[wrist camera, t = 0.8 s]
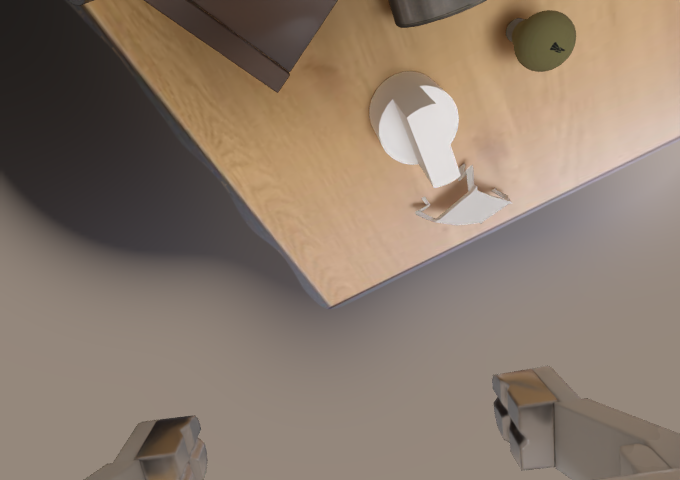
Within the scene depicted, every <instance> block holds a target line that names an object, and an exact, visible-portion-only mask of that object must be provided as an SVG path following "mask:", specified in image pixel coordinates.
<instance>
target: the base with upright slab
mask: <svg viewBox="0 0 680 480" xmlns="http://www.w3.org/2000/svg"><path fill="white" fill-rule="evenodd" d="M369 118H370V121H371V125H372V127H373V129H374V131H375V133H376V135H377V137H378V139H379V141H380V143H381V145H382V146H383V148H384V150H385V151H386V153H387V154H388V155H389V156H391V157H392V158H393V159H394V160H397V161H399V162H401V163H404V164H411V165H414V164H419V165H420V167H421V168H422V170H423V171H424V173H425V175H426V176H427V178H428V179H429V181H430V183H431V184H432V186H433V187H434V188H438V187H441V186H444V185H447V184H449V183H451V182H452V181H454V180H456V179H457V178H459V177H460V176H461V175H460V172H459V169H458V166H457V163H456V160H455V157H454V154H453V151H452V148H451V145H450V144H451V143H452V141H453V140H454V138H455V135H456V132H457V129H458V122H459V116H458V110H457V107H456V105H455V103H454V101H453V99H452V98H451V97H450V96H449V95H448V94H447V93H446V92H445V91H444V90H443V89H442V88H441V87H440V86H439V85H438V84H436V83H435V82H434V81H433V80H432V79H431V78H430V77H428V76H426V75H424V74H422V73H419V72H414V71H407V72H401V73H398V74H395V75H392V76H391V77H389V78H388V79H386V80H385V81H384V82H383V83H382V84H381V85H380V86H379V87H378V88H377V90H376V91H375V93H374V95H373V97H372V100H371V104H370V108H369Z"/></svg>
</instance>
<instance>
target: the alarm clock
mask: <svg viewBox="0 0 680 480" xmlns="http://www.w3.org/2000/svg"><path fill="white" fill-rule="evenodd" d="M485 1H486V0H389V3H390V7H391V10H392V14H393V17H394V20H395V24H396V25H397V26H398V27H401V28H407V27H415V26H420V25H424V24H427V23H431V22H434V21H437V20H441V19H444V18H447V17H450V16H453V15H455V14H458V13H460V12H463V11H465V10H467V9H470V8H472V7H474V6H476V5H478V4H481V3H483V2H485Z"/></svg>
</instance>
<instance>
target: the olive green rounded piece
mask: <svg viewBox="0 0 680 480" xmlns="http://www.w3.org/2000/svg"><path fill="white" fill-rule="evenodd" d="M506 36H507V38H508V40H510V41H511V42H513V45H514V51H515V55H516V57H517V59H518V61H519V62H520V63H521V64H522V65H523V66H524V67H526V68H527V69H529V70H532V71H537V72H543V71H548V70H552V69H554V68H556V67H558V66H559V65H561V64H562V63H563V62H564V61H565V60H566V59H567V58H568V57H569V56H570V54H571V53H572V51H573V48H574V45H575V41H576V31H575V27H574V25H573V23H572V21H571V20H570V19H569V18H568V17H567V16H566V15H564V14H563V13H561V12H558V11H548V10H547V11H542V12H539V13H536V14H534V15H532V16H531V17H529V18H528V19H525V20H524V19H521V18H517V19H514V20H513V21H511V22H510V23H509V25H508V27H507V29H506Z"/></svg>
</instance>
